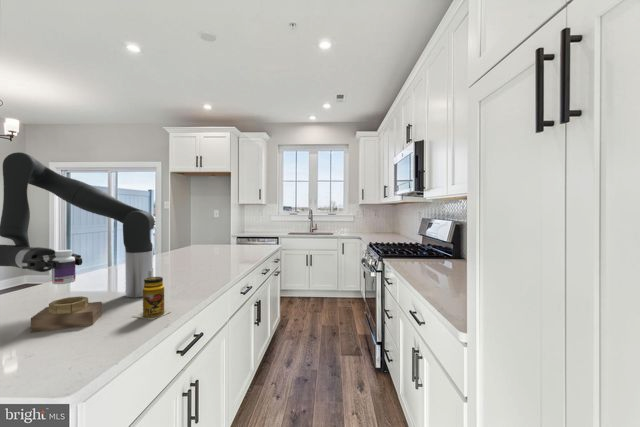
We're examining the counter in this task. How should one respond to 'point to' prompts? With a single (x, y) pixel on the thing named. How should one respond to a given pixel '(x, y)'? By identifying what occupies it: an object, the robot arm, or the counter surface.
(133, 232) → the robot arm
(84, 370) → the counter surface
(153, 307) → the condiment
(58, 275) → the pill bottle
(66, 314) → the wooden bottle holder
